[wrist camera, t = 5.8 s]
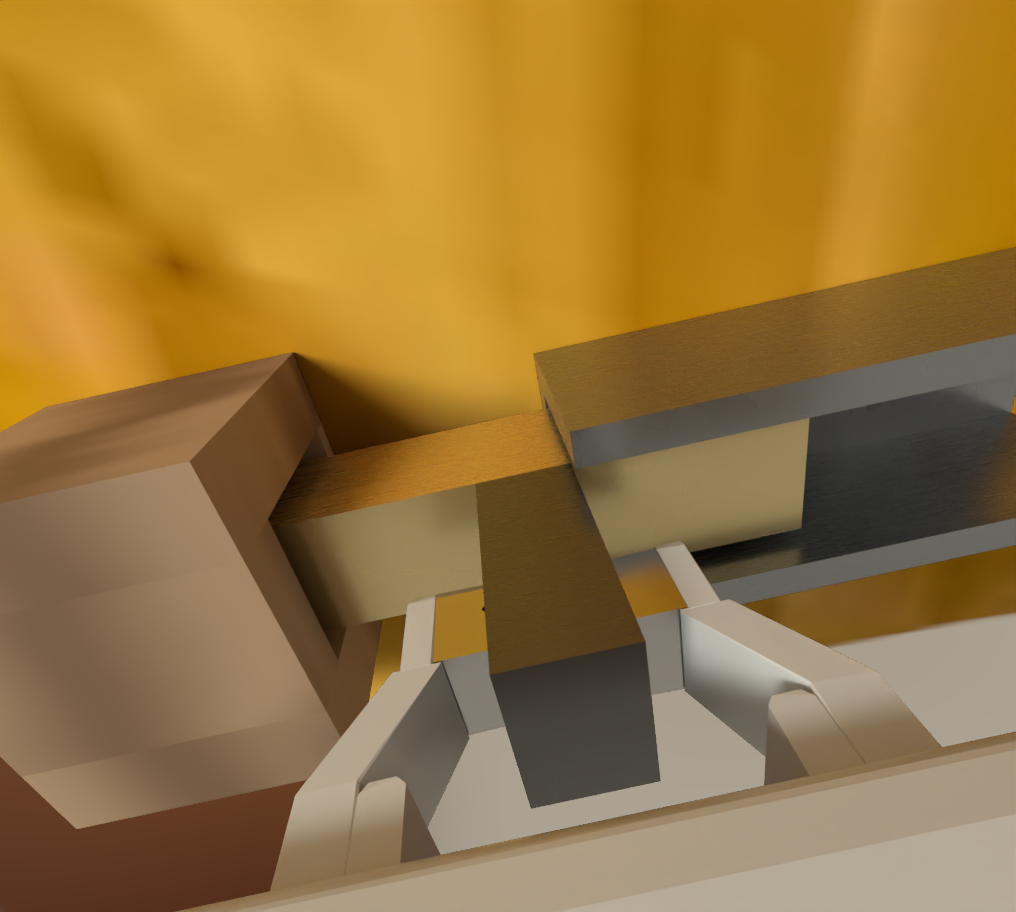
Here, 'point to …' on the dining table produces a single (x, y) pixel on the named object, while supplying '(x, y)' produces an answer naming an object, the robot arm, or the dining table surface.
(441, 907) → the robot arm
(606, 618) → the tan grey t-shaped block
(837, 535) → the grey track with slider
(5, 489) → the socket
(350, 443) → the dining table surface
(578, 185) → the dining table surface
